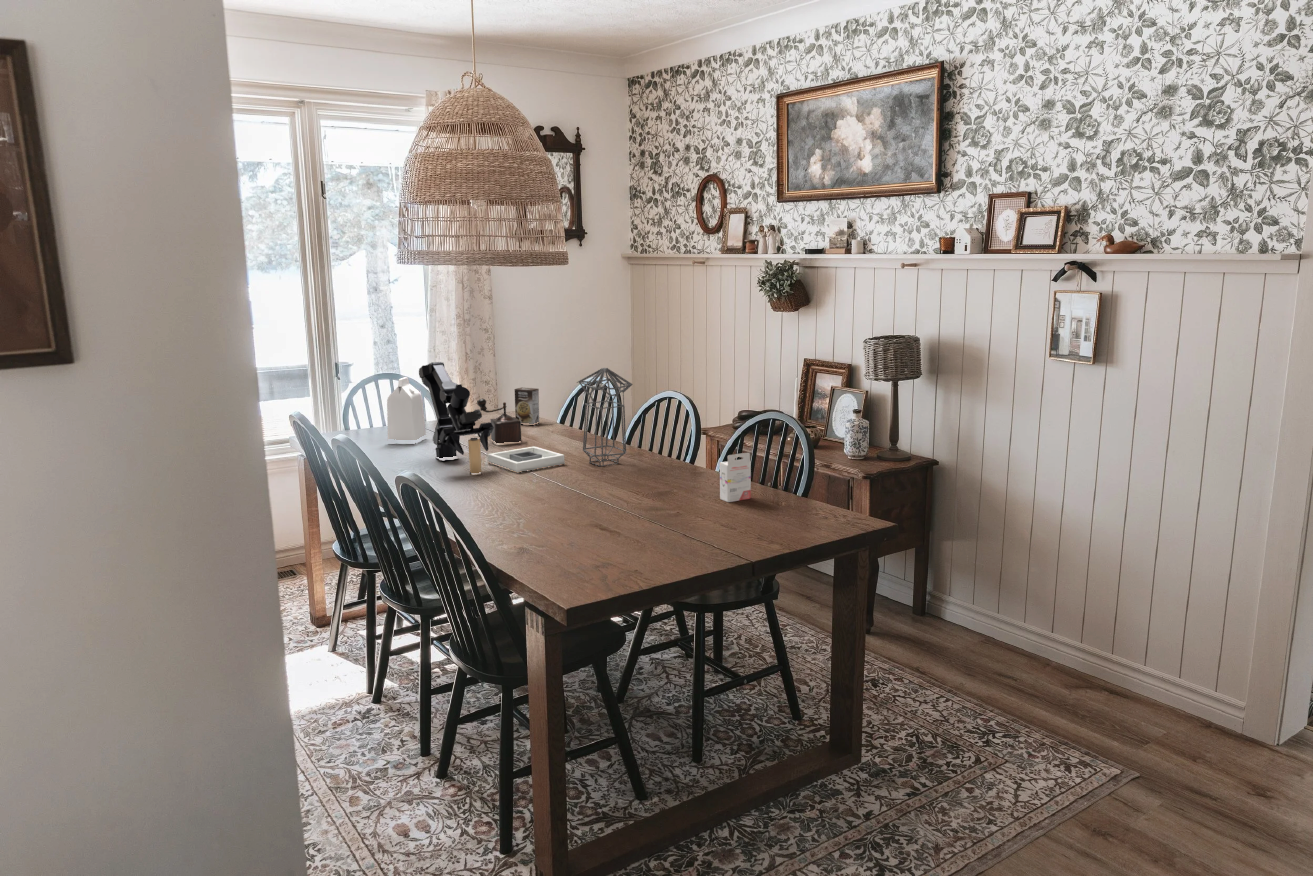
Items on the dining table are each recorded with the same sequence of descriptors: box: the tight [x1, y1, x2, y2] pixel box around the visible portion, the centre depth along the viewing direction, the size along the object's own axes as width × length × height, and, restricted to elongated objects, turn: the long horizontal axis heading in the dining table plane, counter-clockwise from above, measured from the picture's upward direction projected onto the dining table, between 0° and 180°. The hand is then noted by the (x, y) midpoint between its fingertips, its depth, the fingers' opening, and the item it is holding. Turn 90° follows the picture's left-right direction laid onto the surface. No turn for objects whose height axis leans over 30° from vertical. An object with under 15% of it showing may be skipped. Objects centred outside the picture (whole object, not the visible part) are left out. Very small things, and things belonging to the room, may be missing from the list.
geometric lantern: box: [576, 367, 633, 467], centre depth 325 cm, size 16×16×35 cm
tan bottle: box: [467, 437, 483, 473], centre depth 314 cm, size 4×4×13 cm
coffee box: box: [514, 387, 540, 424], centre depth 404 cm, size 9×6×16 cm
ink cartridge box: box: [719, 452, 752, 503], centre depth 279 cm, size 9×5×15 cm, turn 117°
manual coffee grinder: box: [476, 398, 522, 443], centre depth 364 cm, size 16×11×18 cm
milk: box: [386, 376, 427, 440], centre depth 368 cm, size 12×12×26 cm
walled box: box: [487, 446, 566, 472], centre depth 329 cm, size 20×20×4 cm
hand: (475, 452), depth 313 cm, fingers open, 9 cm apart
